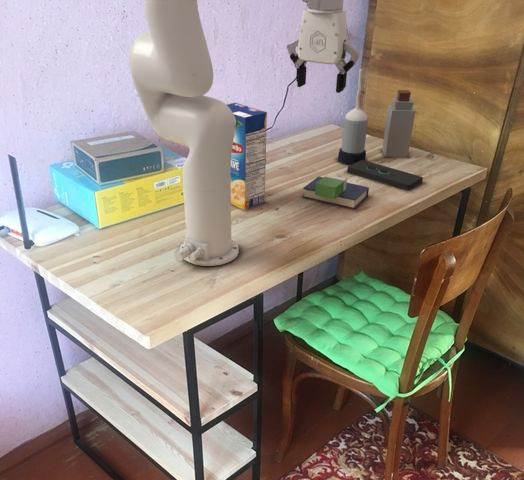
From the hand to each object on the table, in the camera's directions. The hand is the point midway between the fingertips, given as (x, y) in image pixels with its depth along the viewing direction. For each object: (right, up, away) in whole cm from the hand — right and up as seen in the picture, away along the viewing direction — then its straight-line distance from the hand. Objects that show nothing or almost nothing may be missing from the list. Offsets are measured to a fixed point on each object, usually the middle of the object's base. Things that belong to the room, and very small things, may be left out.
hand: (320, 88), depth 134 cm
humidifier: (+13, -4, +40) cm, 43 cm away
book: (+6, -20, +17) cm, 27 cm away
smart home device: (+21, -12, +30) cm, 38 cm away
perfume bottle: (+27, 0, +46) cm, 53 cm away
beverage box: (-19, -22, +15) cm, 33 cm away
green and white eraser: (+4, -19, +12) cm, 23 cm away
